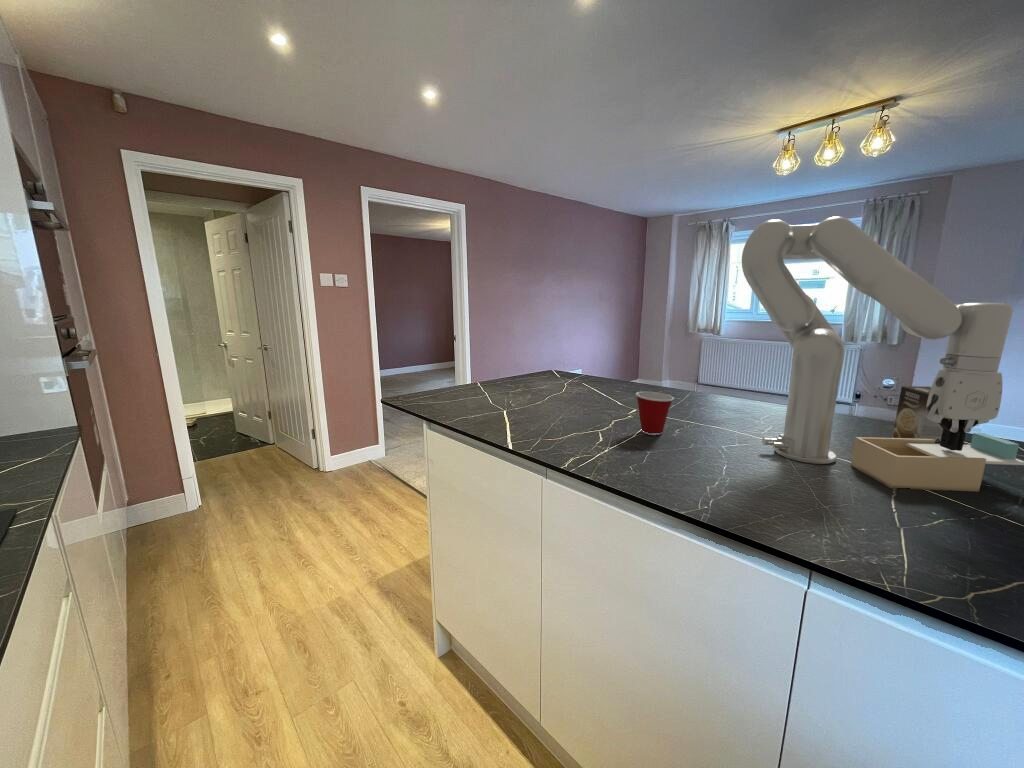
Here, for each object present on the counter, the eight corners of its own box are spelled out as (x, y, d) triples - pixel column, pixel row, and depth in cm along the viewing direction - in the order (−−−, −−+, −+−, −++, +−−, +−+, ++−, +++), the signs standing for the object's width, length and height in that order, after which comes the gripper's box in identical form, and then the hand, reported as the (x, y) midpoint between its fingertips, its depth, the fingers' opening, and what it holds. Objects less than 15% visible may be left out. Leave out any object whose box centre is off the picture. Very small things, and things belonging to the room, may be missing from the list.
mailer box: (890, 488, 83) (896, 456, 81) (850, 465, 94) (855, 437, 93) (978, 491, 81) (986, 459, 79) (926, 467, 92) (932, 438, 91)
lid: (946, 462, 81) (950, 445, 81) (905, 445, 91) (908, 429, 90) (1025, 465, 80) (1030, 447, 79) (975, 447, 89) (979, 431, 88)
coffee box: (889, 443, 108) (899, 385, 105) (917, 444, 107) (928, 386, 104) (915, 455, 99) (927, 393, 96) (945, 457, 98) (959, 393, 95)
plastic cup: (677, 438, 115) (680, 398, 112) (640, 439, 115) (642, 398, 113) (664, 427, 125) (666, 390, 123) (629, 427, 126) (631, 390, 123)
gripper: (946, 366, 79) (926, 453, 83) (1033, 367, 77) (1009, 456, 81) (914, 360, 86) (897, 440, 90) (992, 361, 84) (972, 443, 88)
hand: (950, 448), depth 86 cm, fingers closed
